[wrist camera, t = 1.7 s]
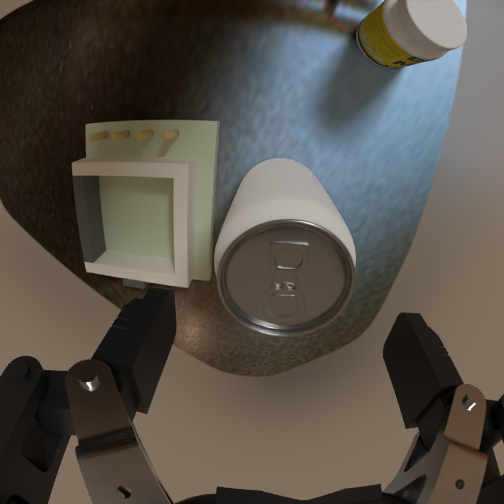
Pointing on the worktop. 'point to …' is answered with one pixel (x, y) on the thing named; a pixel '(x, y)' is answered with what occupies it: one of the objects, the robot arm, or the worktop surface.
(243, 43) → the worktop surface
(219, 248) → the can
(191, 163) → the socket board
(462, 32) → the supplement bottle
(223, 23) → the worktop surface
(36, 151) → the worktop surface
